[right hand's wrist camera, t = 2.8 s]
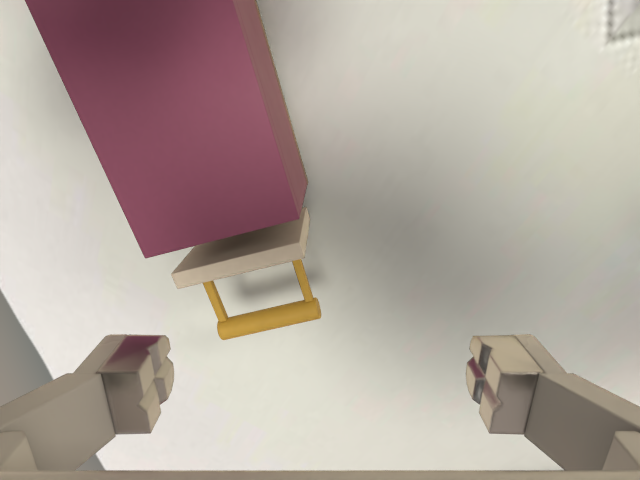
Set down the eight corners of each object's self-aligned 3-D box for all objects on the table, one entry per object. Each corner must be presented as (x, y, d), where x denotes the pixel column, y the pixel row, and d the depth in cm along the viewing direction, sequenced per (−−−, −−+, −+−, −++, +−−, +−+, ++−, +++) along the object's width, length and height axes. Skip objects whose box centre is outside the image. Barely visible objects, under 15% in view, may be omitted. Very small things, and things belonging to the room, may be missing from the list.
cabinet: (308, 182, 34) (299, 219, 24) (195, 211, 35) (144, 259, 25) (240, -53, 28) (194, -127, 18) (108, -7, 29) (-2, -54, 19)
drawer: (328, 281, 36) (328, 334, 28) (234, 303, 37) (209, 360, 29) (249, 15, 29) (220, -11, 21) (134, 52, 30) (65, 40, 22)
